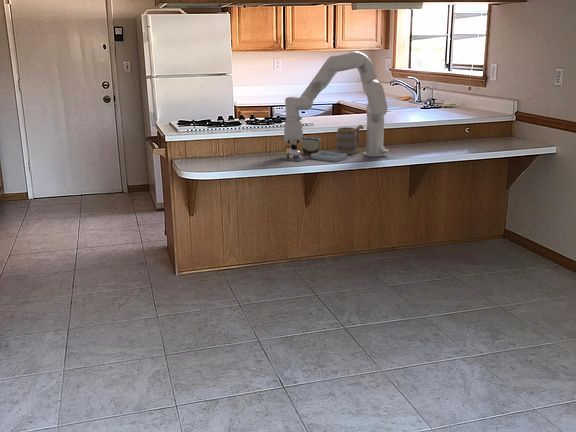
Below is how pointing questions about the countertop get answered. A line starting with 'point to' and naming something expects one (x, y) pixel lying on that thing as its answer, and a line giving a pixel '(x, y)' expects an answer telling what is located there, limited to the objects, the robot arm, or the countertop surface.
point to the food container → (311, 144)
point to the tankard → (348, 140)
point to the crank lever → (294, 152)
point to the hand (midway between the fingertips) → (294, 151)
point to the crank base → (297, 159)
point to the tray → (329, 156)
